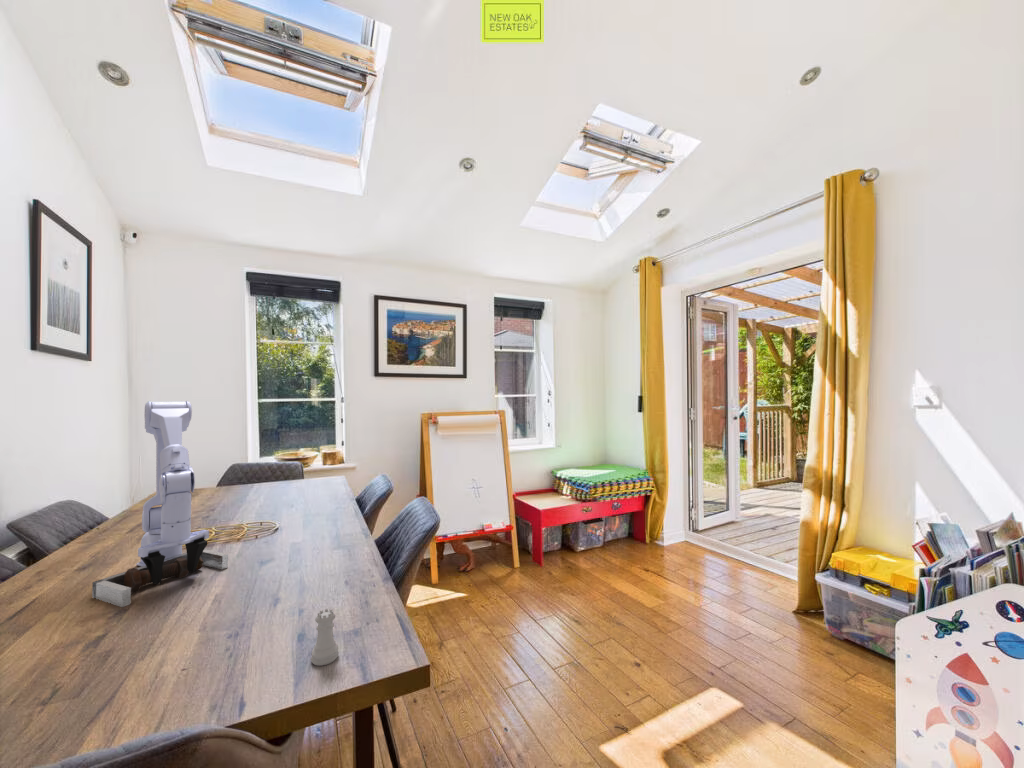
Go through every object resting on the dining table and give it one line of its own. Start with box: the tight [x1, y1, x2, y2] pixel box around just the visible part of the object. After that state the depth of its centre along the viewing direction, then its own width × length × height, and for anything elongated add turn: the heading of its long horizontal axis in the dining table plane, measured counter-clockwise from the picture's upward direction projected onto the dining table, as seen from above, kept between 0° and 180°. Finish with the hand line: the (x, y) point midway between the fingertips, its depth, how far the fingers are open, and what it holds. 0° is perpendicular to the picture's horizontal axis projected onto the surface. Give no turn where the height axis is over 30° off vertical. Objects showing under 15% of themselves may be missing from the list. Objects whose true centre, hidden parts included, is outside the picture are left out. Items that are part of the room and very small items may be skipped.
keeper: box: [91, 548, 229, 608], centre depth 104 cm, size 12×23×4 cm, turn 158°
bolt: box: [124, 557, 204, 594], centre depth 105 cm, size 6×5×15 cm
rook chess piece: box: [310, 608, 339, 667], centre depth 74 cm, size 4×4×8 cm
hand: (174, 576), depth 103 cm, fingers open, 7 cm apart
